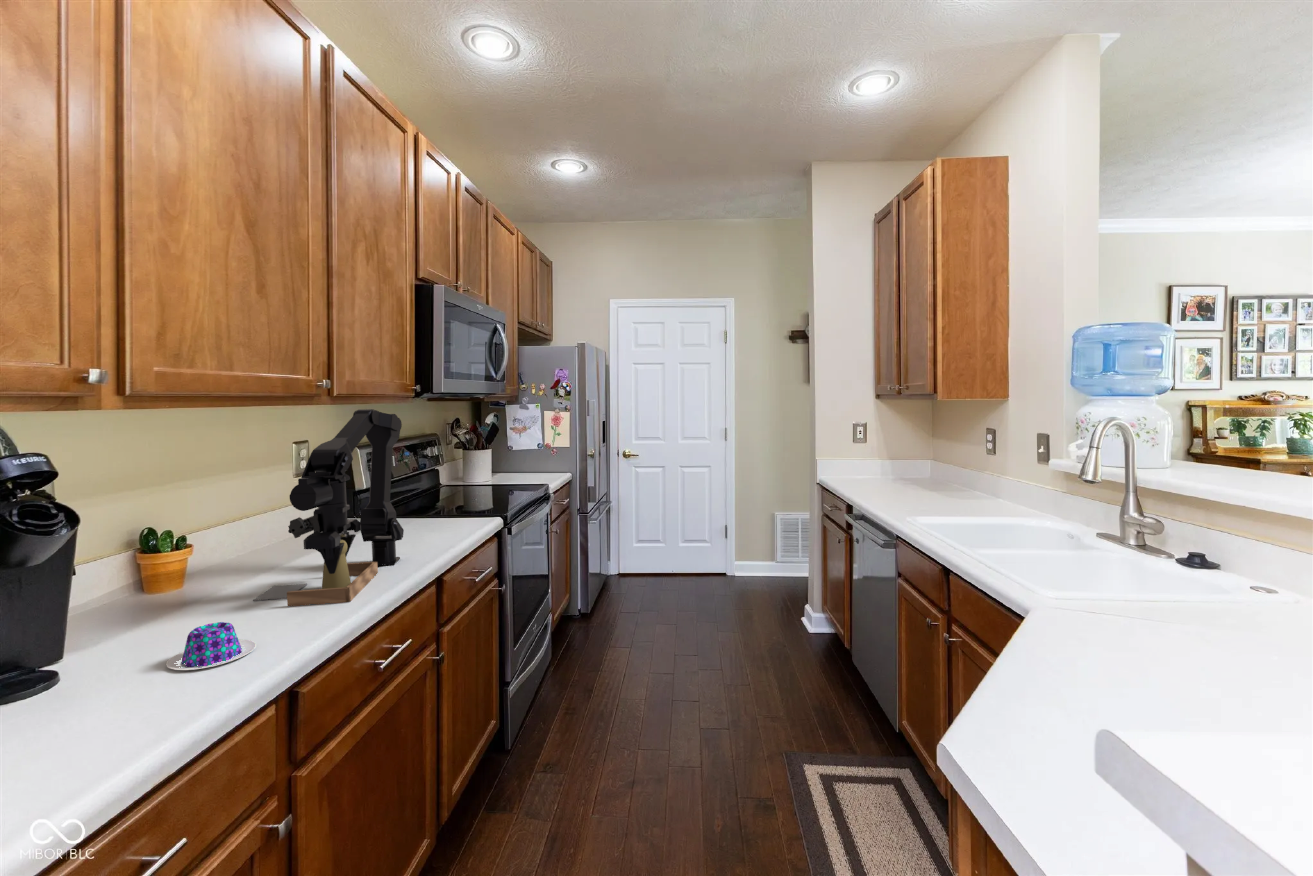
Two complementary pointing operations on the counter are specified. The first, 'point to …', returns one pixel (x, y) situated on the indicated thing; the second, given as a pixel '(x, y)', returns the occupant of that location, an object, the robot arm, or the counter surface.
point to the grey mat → (279, 591)
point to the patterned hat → (211, 646)
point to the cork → (337, 573)
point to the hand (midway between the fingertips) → (335, 570)
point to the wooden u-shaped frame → (336, 595)
